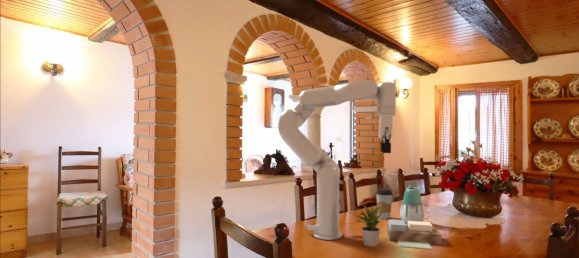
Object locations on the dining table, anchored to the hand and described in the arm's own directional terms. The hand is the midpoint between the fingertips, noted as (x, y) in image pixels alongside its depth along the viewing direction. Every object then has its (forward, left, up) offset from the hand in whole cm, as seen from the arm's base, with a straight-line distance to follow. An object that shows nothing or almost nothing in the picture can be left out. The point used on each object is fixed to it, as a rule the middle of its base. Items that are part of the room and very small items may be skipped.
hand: (385, 152), depth 145 cm
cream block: (+15, +6, -33) cm, 37 cm away
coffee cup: (+3, +40, -37) cm, 55 cm away
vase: (+16, +32, -37) cm, 51 cm away
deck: (+12, +5, -37) cm, 39 cm away
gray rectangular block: (+6, +5, -33) cm, 34 cm away
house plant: (-6, -6, -37) cm, 38 cm away
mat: (+11, -4, -37) cm, 39 cm away
